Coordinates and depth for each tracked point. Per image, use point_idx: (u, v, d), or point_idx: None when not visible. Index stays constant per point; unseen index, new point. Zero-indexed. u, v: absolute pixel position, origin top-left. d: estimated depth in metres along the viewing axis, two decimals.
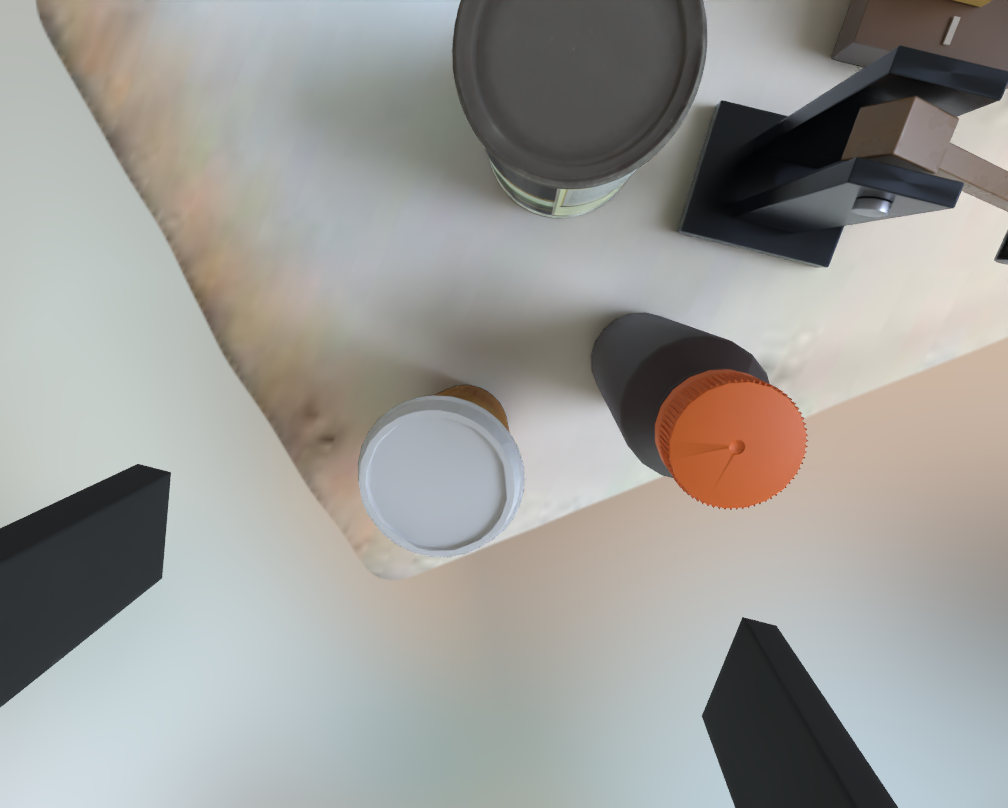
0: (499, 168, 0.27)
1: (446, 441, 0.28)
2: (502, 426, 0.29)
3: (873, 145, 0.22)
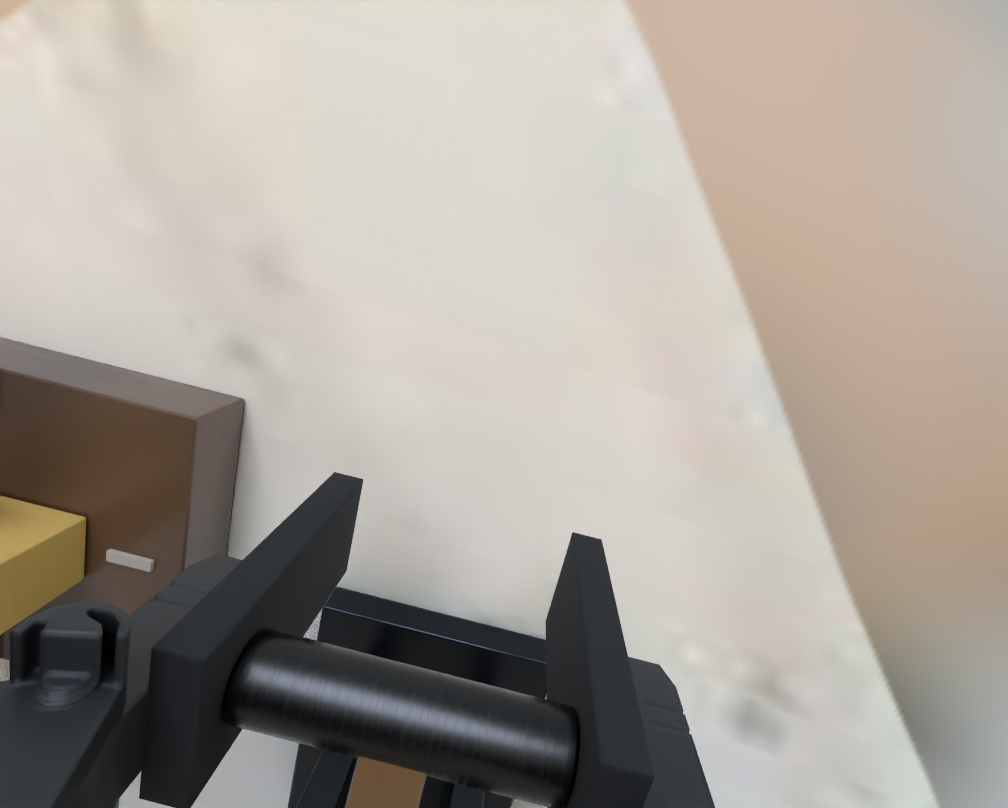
0: None
1: None
2: None
3: None
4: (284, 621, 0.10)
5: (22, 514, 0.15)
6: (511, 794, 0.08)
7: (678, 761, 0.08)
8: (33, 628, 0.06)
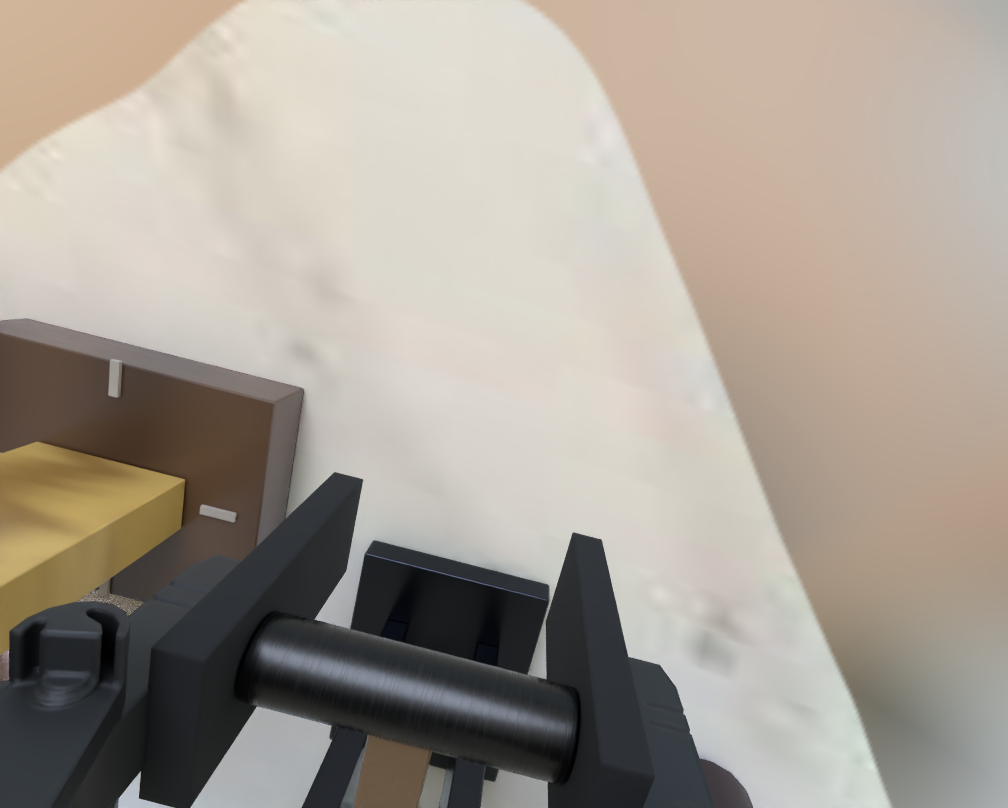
0: None
1: None
2: None
3: None
4: None
5: (139, 476, 0.20)
6: None
7: (678, 761, 0.08)
8: (33, 628, 0.06)
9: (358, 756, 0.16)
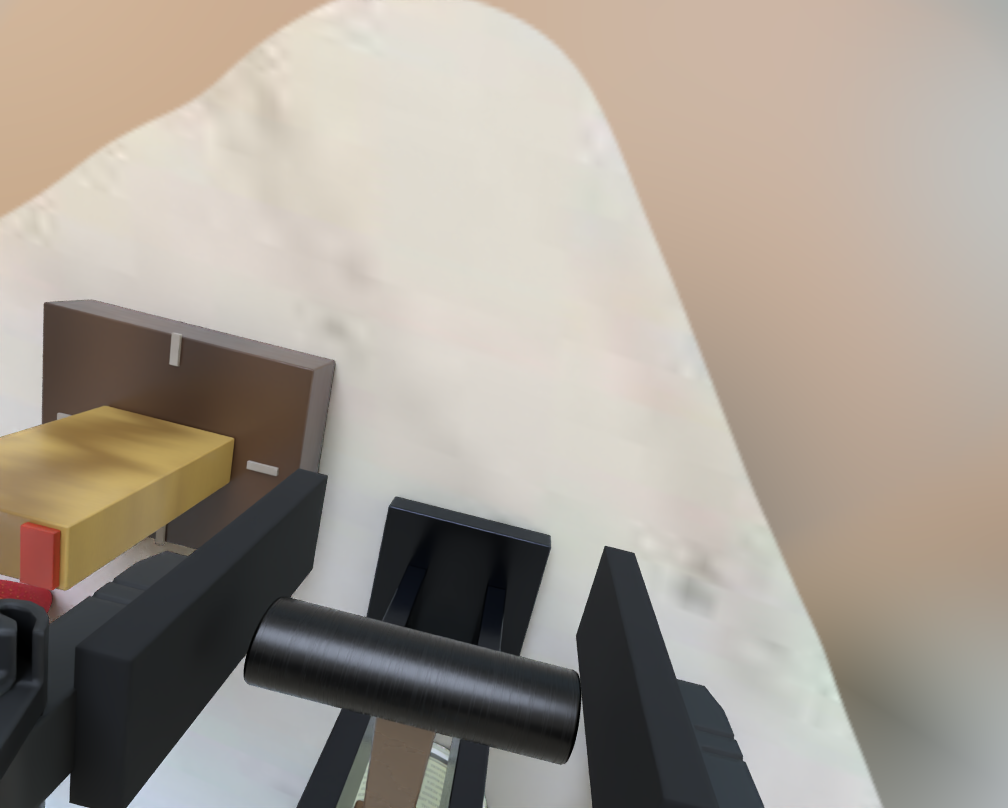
0: None
1: None
2: None
3: None
4: (233, 620, 0.10)
5: (196, 434, 0.23)
6: None
7: (736, 791, 0.08)
8: None
9: None
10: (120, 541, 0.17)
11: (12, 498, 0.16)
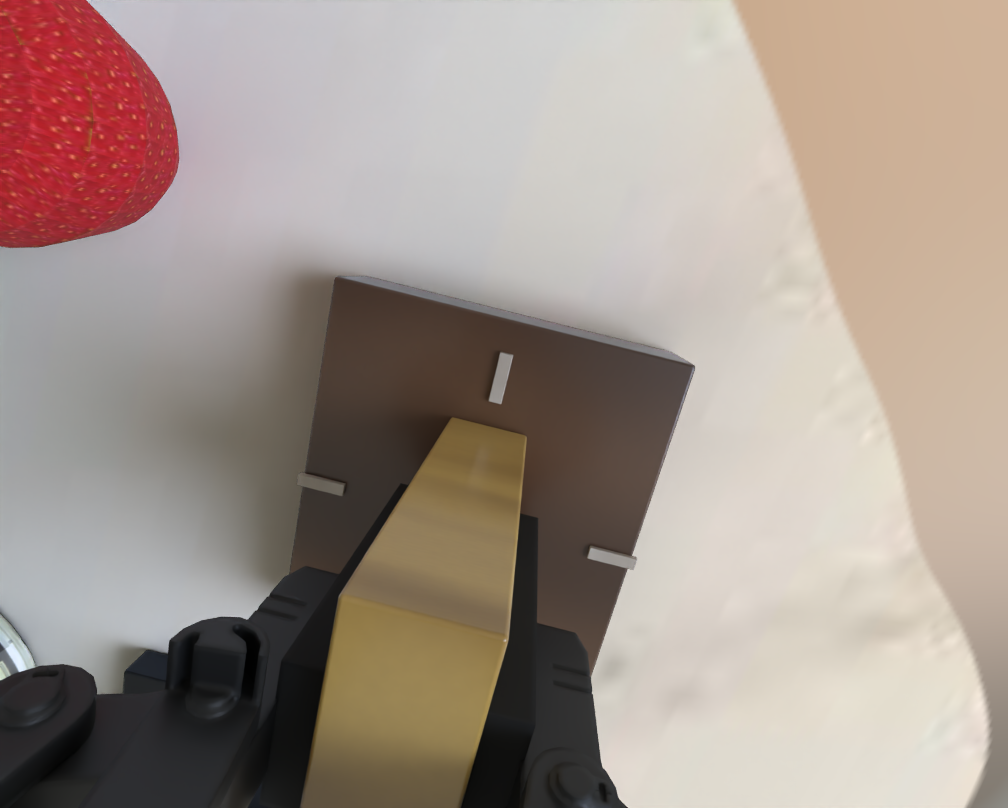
0: None
1: None
2: None
3: None
4: None
5: None
6: None
7: (573, 717, 0.08)
8: (187, 639, 0.07)
9: None
10: None
11: None
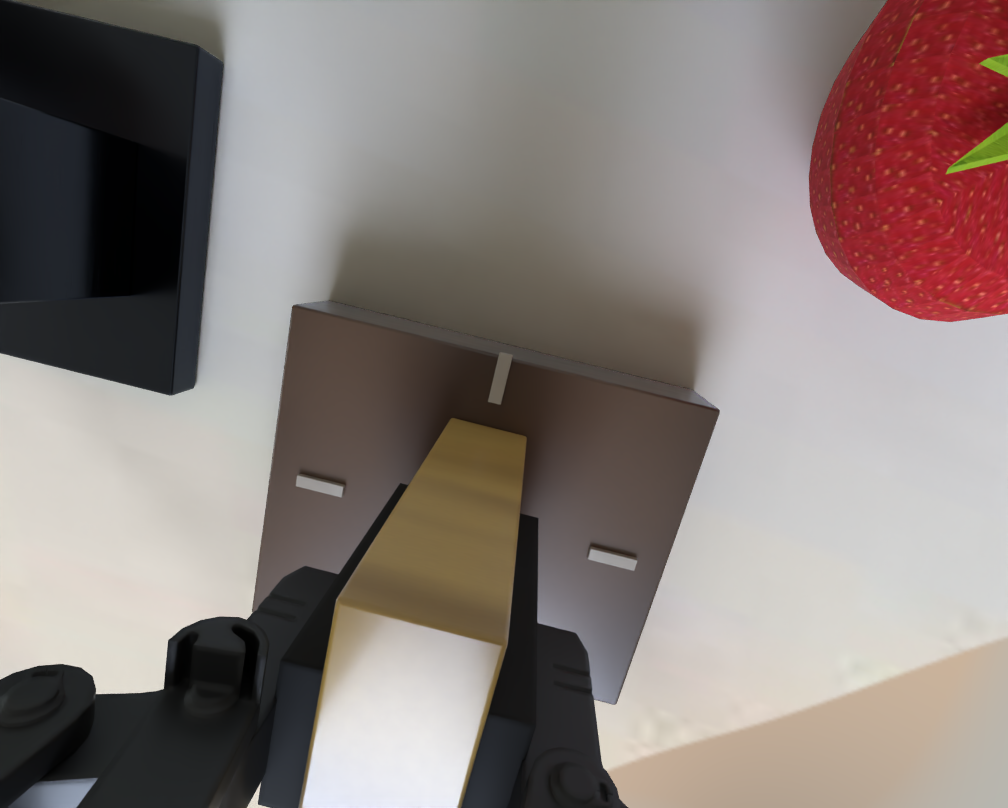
0: None
1: None
2: None
3: None
4: None
5: None
6: None
7: (574, 717, 0.08)
8: (186, 639, 0.07)
9: None
10: None
11: None
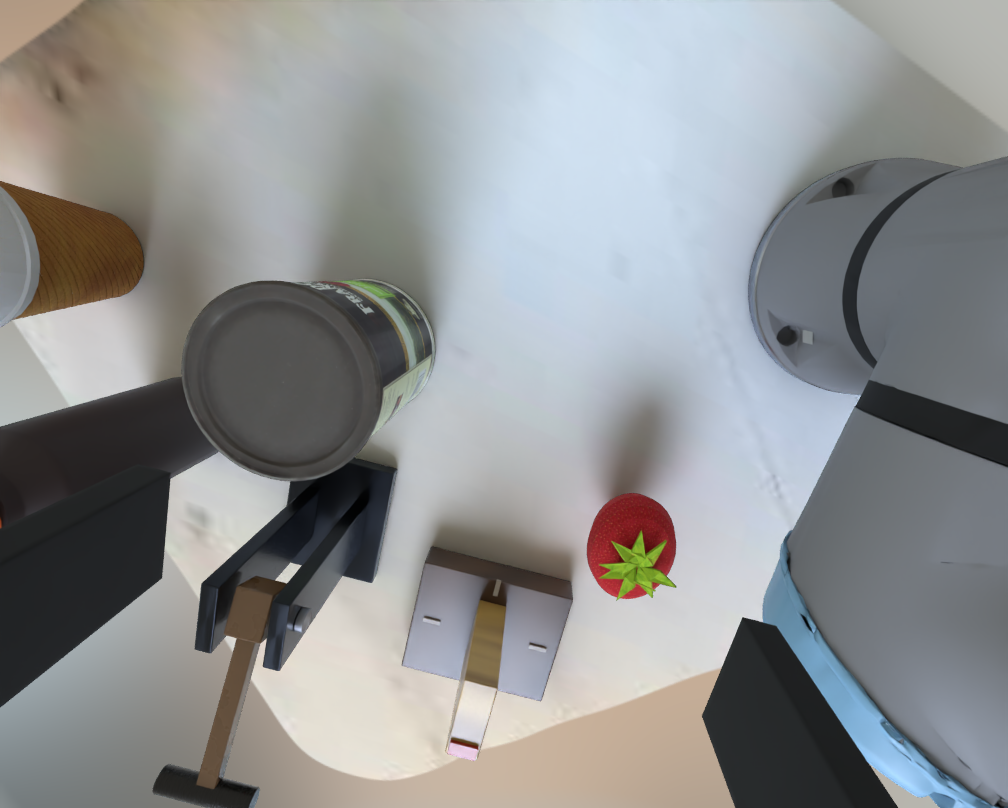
0: None
1: None
2: (15, 312, 0.30)
3: (252, 582, 0.31)
4: None
5: None
6: (172, 780, 0.30)
7: None
8: None
9: None
10: None
11: None
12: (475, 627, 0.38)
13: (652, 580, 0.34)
